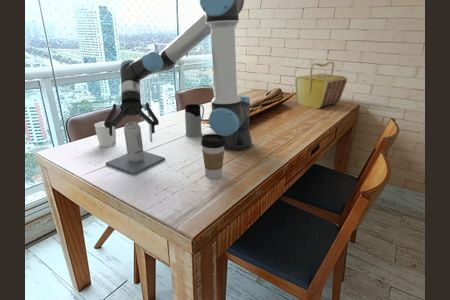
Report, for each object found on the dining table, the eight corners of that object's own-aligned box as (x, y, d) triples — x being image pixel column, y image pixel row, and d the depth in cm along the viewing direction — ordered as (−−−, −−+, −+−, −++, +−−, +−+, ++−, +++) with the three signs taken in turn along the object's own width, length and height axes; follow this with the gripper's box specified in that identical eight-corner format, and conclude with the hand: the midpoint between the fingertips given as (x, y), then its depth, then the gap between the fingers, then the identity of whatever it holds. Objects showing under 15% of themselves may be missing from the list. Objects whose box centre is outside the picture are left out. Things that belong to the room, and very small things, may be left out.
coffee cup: (202, 170, 103) (201, 132, 97) (224, 169, 103) (224, 132, 98) (202, 181, 95) (201, 141, 89) (226, 180, 96) (226, 140, 90)
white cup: (110, 148, 121) (106, 127, 117) (94, 146, 123) (90, 125, 119) (120, 142, 128) (116, 121, 125) (105, 140, 130) (101, 120, 126)
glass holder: (181, 135, 137) (180, 106, 131) (197, 128, 149) (196, 101, 143) (196, 138, 133) (195, 109, 127) (210, 130, 145) (210, 102, 139)
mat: (165, 159, 111) (164, 157, 110) (134, 175, 98) (133, 173, 98) (137, 151, 118) (137, 149, 118) (106, 164, 106) (105, 162, 106)
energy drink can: (140, 163, 105) (135, 126, 99) (125, 162, 106) (120, 125, 100) (146, 157, 110) (142, 122, 105) (133, 156, 111) (128, 121, 105)
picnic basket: (313, 98, 220) (318, 60, 209) (343, 104, 202) (351, 62, 191) (291, 104, 203) (295, 62, 191) (322, 111, 185) (329, 65, 173)
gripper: (162, 98, 117) (166, 143, 110) (100, 100, 112) (100, 148, 104) (161, 88, 111) (165, 135, 103) (95, 90, 105) (95, 140, 98)
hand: (132, 142), depth 104 cm, fingers open, 13 cm apart
